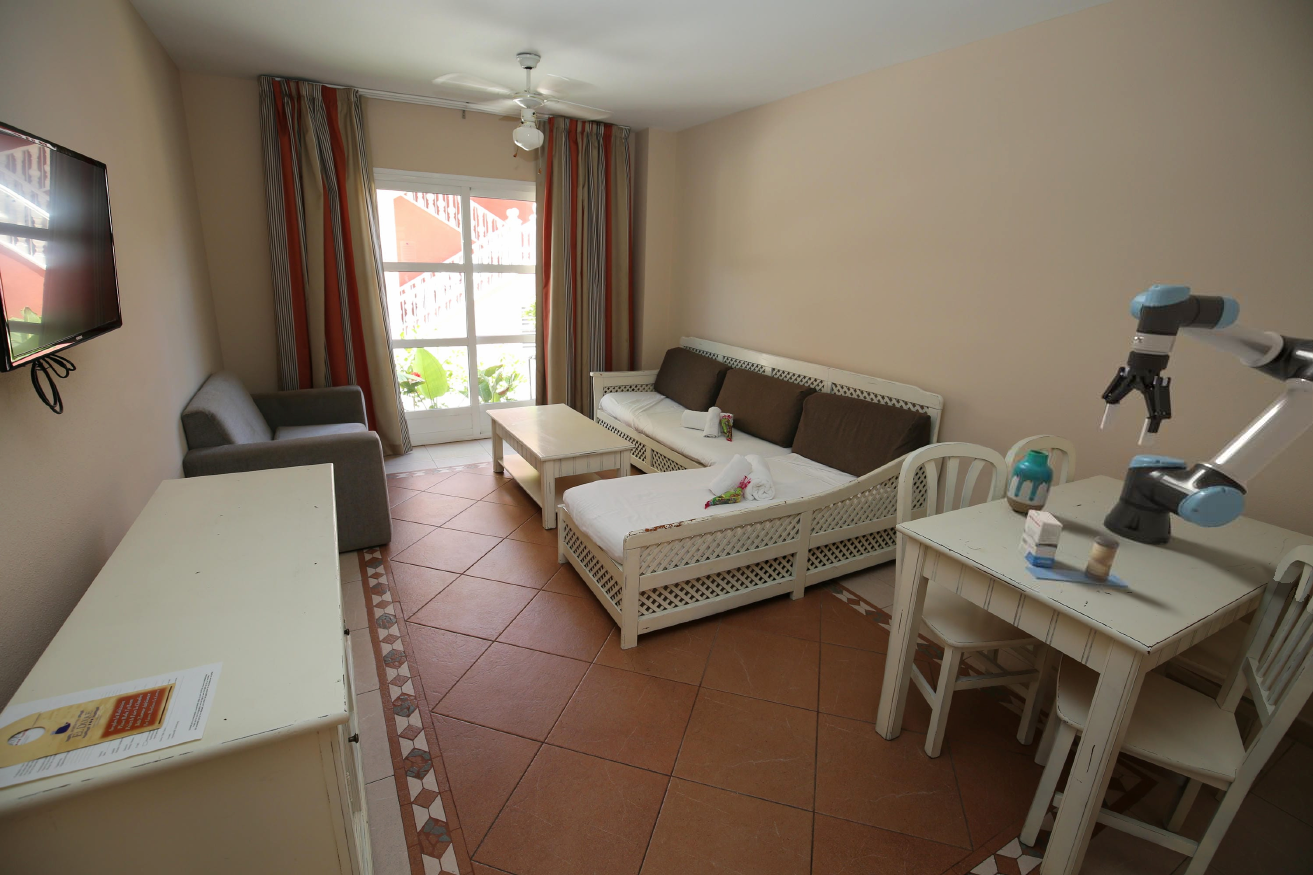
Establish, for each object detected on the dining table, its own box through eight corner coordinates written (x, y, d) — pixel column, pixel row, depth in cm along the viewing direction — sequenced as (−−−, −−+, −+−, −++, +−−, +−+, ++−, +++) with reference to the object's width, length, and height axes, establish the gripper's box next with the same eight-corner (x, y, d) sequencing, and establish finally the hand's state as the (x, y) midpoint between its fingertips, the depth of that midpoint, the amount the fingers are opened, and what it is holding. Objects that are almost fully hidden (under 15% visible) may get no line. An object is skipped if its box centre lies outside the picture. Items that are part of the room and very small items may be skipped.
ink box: (1052, 568, 144) (1065, 525, 141) (1030, 565, 145) (1043, 522, 142) (1037, 552, 152) (1049, 511, 149) (1017, 549, 153) (1028, 508, 150)
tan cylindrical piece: (1099, 573, 142) (1111, 537, 139) (1111, 583, 138) (1124, 546, 135) (1079, 571, 143) (1091, 535, 140) (1090, 581, 138) (1102, 544, 135)
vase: (1005, 501, 185) (1019, 444, 180) (1044, 510, 180) (1060, 452, 174) (1001, 511, 177) (1016, 452, 171) (1041, 521, 171) (1059, 460, 166)
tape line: (1113, 575, 143) (1114, 574, 142) (1127, 586, 138) (1128, 585, 138) (1025, 567, 144) (1025, 566, 144) (1036, 578, 139) (1036, 577, 139)
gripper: (1099, 343, 151) (1078, 421, 157) (1175, 359, 127) (1146, 451, 133) (1129, 344, 150) (1106, 423, 157) (1210, 361, 127) (1180, 453, 133)
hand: (1124, 436), depth 145 cm, fingers open, 13 cm apart
